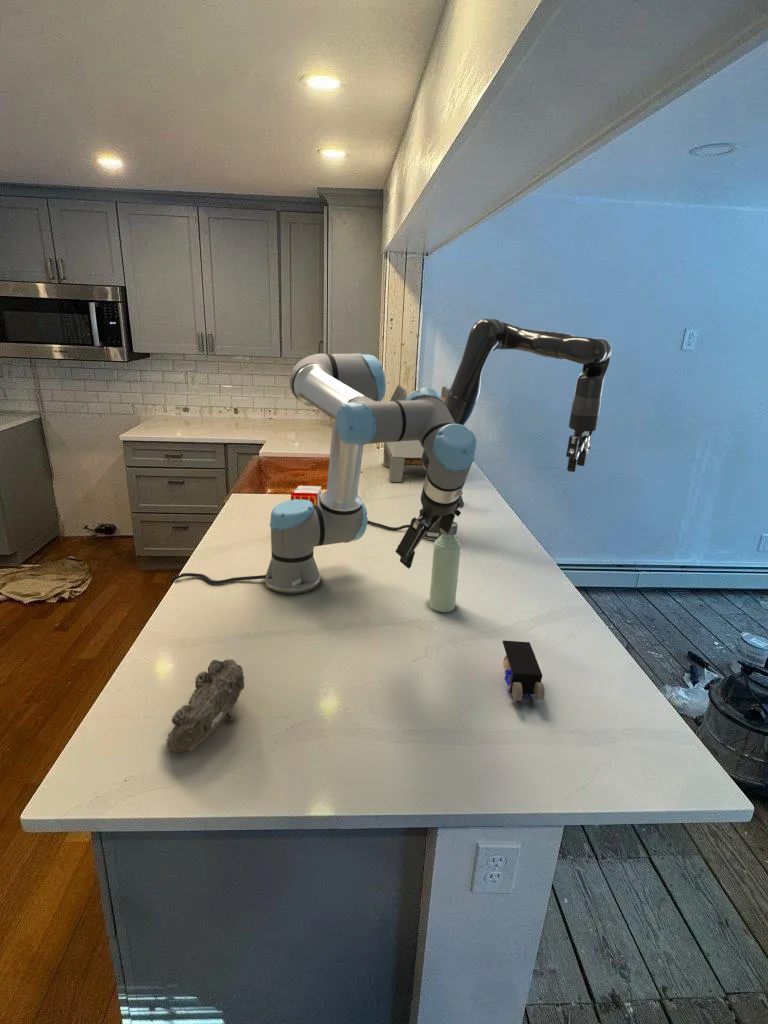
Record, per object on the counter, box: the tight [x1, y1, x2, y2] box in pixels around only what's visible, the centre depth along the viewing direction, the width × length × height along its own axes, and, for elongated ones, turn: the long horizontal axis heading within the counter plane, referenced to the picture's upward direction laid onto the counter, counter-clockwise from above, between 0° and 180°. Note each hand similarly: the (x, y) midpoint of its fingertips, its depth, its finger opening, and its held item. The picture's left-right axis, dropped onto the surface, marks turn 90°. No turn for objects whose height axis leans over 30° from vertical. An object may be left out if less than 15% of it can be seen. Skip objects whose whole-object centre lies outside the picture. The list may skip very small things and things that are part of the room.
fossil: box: [166, 658, 245, 754], centre depth 106 cm, size 22×10×15 cm
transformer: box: [383, 384, 450, 483], centre depth 268 cm, size 34×33×41 cm
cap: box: [440, 521, 459, 536], centre depth 145 cm, size 4×4×2 cm
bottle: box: [428, 534, 462, 613], centre depth 149 cm, size 7×7×23 cm
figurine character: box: [502, 639, 546, 706], centre depth 119 cm, size 7×8×15 cm
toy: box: [290, 485, 326, 505], centre depth 209 cm, size 12×13×30 cm
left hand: (425, 546), depth 129 cm, fingers open, 13 cm apart
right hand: (575, 468), depth 164 cm, fingers open, 8 cm apart
